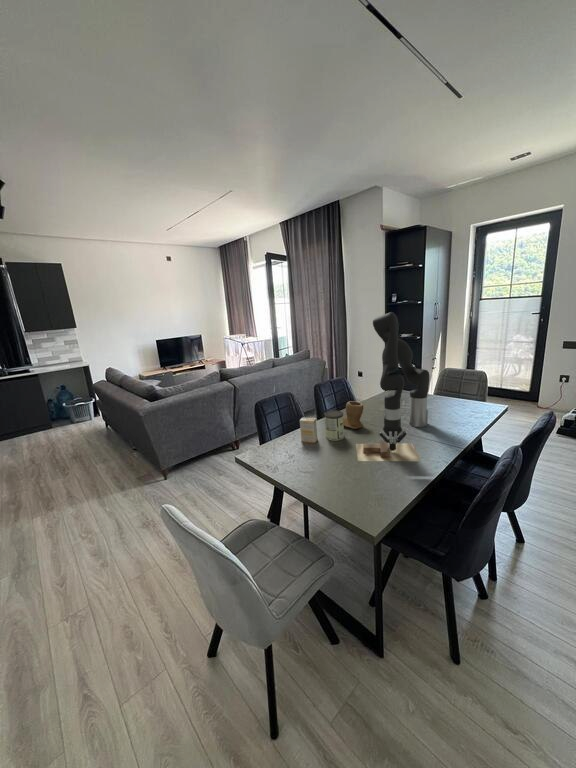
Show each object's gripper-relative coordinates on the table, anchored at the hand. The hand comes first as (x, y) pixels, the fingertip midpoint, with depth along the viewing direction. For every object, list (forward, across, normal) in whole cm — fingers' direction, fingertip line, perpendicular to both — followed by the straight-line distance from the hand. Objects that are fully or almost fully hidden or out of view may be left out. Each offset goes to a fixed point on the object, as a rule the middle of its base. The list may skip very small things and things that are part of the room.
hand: (392, 449), depth 148 cm
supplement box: (+2, +42, -16) cm, 45 cm away
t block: (+1, +8, -1) cm, 8 cm away
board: (+2, +3, 0) cm, 4 cm away
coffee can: (+2, +28, -20) cm, 35 cm away
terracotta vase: (+2, +18, -36) cm, 41 cm away
